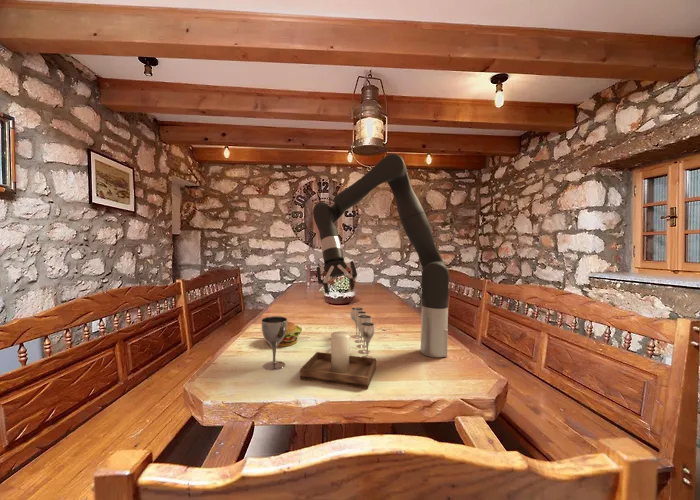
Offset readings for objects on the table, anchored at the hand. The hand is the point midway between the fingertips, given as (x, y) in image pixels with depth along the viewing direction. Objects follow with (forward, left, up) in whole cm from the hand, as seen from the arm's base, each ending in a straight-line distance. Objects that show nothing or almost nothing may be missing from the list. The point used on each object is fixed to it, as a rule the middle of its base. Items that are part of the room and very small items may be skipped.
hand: (340, 291), depth 109 cm
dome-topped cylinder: (-5, +16, -21) cm, 27 cm away
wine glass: (+17, +16, -22) cm, 32 cm away
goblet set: (-6, -10, -23) cm, 25 cm away
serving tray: (-5, +16, -22) cm, 28 cm away
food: (+24, -5, -23) cm, 34 cm away
